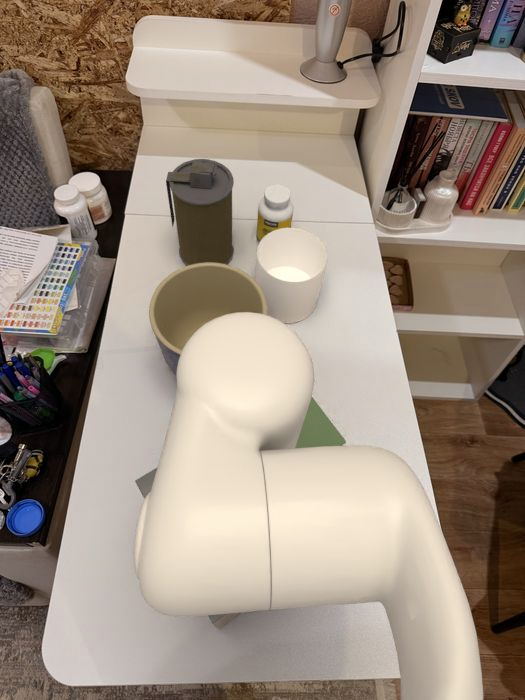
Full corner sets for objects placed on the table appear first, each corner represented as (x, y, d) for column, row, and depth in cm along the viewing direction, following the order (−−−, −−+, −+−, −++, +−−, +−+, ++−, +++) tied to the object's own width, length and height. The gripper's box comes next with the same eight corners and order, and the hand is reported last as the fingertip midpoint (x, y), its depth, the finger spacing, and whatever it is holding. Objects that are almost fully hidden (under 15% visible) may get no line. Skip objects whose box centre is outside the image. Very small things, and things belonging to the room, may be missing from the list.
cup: (307, 331, 90) (317, 291, 80) (245, 312, 91) (246, 270, 81) (324, 281, 96) (335, 237, 86) (265, 264, 97) (269, 219, 87)
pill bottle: (252, 246, 99) (255, 202, 89) (260, 222, 102) (263, 177, 92) (285, 253, 99) (291, 209, 89) (292, 229, 102) (298, 184, 92)
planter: (151, 397, 82) (136, 351, 69) (172, 311, 91) (162, 255, 78) (256, 411, 82) (260, 366, 69) (267, 323, 91) (273, 268, 77)
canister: (236, 233, 101) (236, 148, 83) (230, 274, 96) (230, 193, 78) (181, 228, 101) (170, 142, 83) (172, 269, 95) (159, 187, 78)
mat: (345, 442, 80) (346, 441, 80) (294, 476, 77) (294, 475, 77) (308, 393, 84) (308, 392, 84) (257, 424, 81) (257, 423, 81)
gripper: (139, 375, 39) (165, 450, 54) (266, 582, 32) (255, 601, 47) (223, 331, 41) (226, 414, 57) (358, 516, 35) (319, 554, 50)
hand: (239, 499), depth 52 cm, fingers open, 8 cm apart
